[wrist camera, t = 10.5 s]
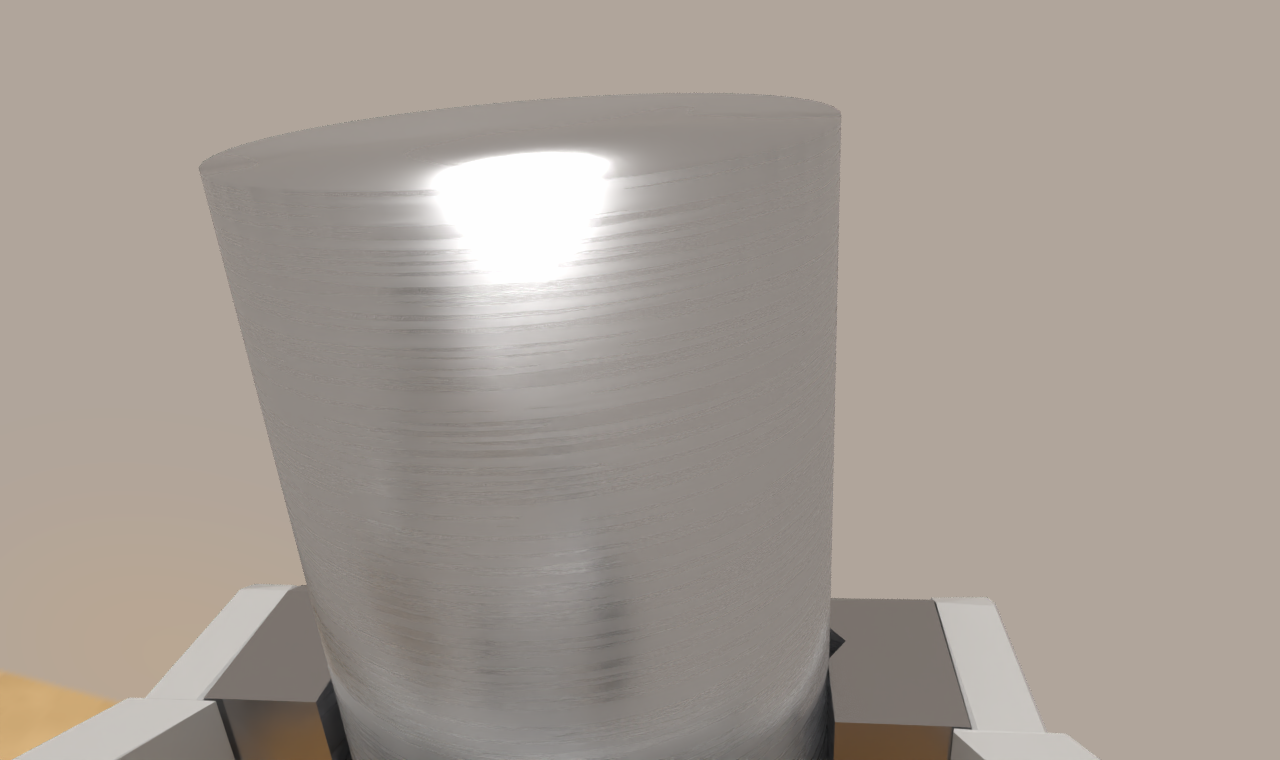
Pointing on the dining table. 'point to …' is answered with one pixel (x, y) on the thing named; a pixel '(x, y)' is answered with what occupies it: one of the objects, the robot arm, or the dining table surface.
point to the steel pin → (554, 417)
